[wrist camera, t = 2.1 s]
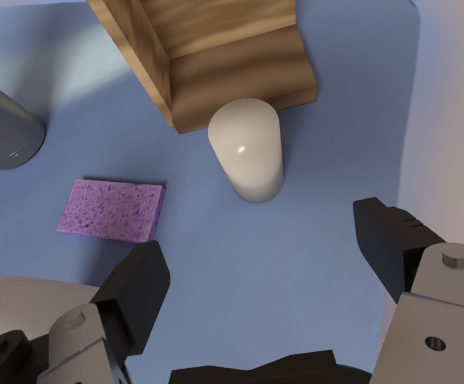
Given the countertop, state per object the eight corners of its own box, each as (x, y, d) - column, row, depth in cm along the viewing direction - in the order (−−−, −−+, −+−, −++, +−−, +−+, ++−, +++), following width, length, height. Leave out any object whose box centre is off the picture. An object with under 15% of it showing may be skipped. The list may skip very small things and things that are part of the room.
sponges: (153, 246, 32) (145, 243, 31) (64, 234, 35) (52, 230, 34) (169, 190, 35) (162, 184, 33) (84, 183, 38) (74, 177, 36)
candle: (221, 178, 33) (194, 127, 24) (260, 147, 34) (247, 87, 25) (253, 214, 31) (236, 172, 22) (295, 180, 31) (294, 125, 22)
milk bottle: (120, 274, 31) (-118, 217, 13) (148, 341, 28) (-121, 386, 10) (60, 316, 31) (-273, 315, 13) (81, 389, 27) (-334, 530, 9)
